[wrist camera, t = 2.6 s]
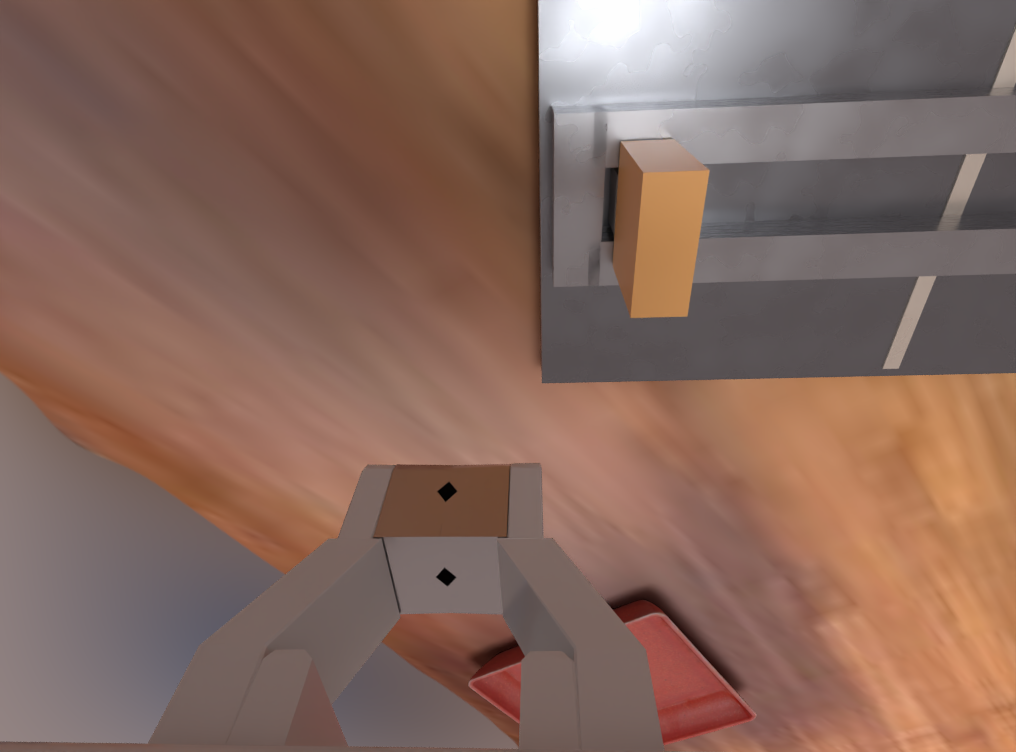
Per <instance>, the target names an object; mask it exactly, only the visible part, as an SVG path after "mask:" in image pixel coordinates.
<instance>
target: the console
mask: <svg viewBox="0 0 1016 752" xmlns="http://www.w3.org/2000/svg"><path fill="white" fill-rule="evenodd" d="M537 22H538V117H539V212H540V307H541V371H542V383H576V382H622V381H668V380H714V379H760V378H806V377H851V376H897V375H943V374H989V373H1016V0H537ZM663 139H675V140H676V141H677V142H678V143H679V144H680V145H681V146H683V147H684V148H685V149H686V150H687V151H688V152H689V153H691V154H692V155H693V156H694V157H695V158H696V159H697V160H699V161H700V162H701V163H702V164H703V165H704V166H705V167H706V168H708V169H709V170H710V171H709V178H708V184H707V191H706V197H705V204H704V210H703V217H702V224H701V230H700V237H699V243H698V250H697V256H696V263H695V270H694V276H693V283H692V289H691V296H690V302H689V309H688V316H687V317H650V318H630V315H629V312H628V309H627V306H626V304H625V301H624V298H623V295H622V292H621V289H620V286H619V283H618V280H617V278H616V275H615V272H614V269H613V266H612V265H613V250H614V234H613V232H612V229H611V227H610V224H609V221H608V216H609V199H610V182H611V168H616V167H619V158H620V143H621V141H638V140H663Z"/></svg>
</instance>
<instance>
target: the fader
mask: <svg viewBox="0 0 1016 752" xmlns="http://www.w3.org/2000/svg"><path fill="white" fill-rule="evenodd" d="M709 171H710V170H709V169H708V168H706V167H705V166H704V165H703V164H702V163H701V162H700V161H699V160H697V159H696V158H695V157H694V156H693V155H692V154H691V153H689V152H688V151H687V150H686V149H685V148H684V147H683V146H681V145H680V144H679V143H678V142H677V141H676V140H675V139H663V140H638V141H621V143H620V158H619V167H616V168H611V182H610V199H609V216H608V221H609V224H610V227H611V229H612V232H613V234H614V250H613V265H612V266H613V269H614V272H615V275H616V278H617V280H618V283H619V286H620V289H621V292H622V295H623V298H624V301H625V304H626V306H627V309H628V312H629V315H630V318H650V317H687V316H688V309H689V302H690V296H691V289H692V283H693V276H694V270H695V263H696V256H697V250H698V243H699V237H700V230H701V224H702V217H703V210H704V204H705V197H706V191H707V184H708V178H709Z"/></svg>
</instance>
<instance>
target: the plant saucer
mask: <svg viewBox="0 0 1016 752" xmlns="http://www.w3.org/2000/svg"><path fill="white" fill-rule="evenodd" d="M613 611H614V612H615V613H616V614H617V616H618V617H619V618H620V619H621V620H622V622H623V623H624V624H625V625H626V626H627V628H628V629H629V630H630V631H631V632H632V634H633V635H634V636H635V637H636V638H637V640H638V641H639V642H640V643H641V644H642V646H643V647H644V648H645V649H646V653H647V658H648V663H649V669H650V674H651V680H652V685H653V691H654V696H655V701H656V707H657V712H658V718H659V723H660V729H661V734H662V739H663V745H666V744H670V743H674V742H677V741H682V740H685V739H688V738H692V737H696V736H699V735H703V734H707V733H710V732H715V731H717V730H721V729H725V728H729V727H732V726H735V725H739V724H743V723H746V722H750V721H752V720H754V719H755V718H756V713H755V712H754V711H753V710H752V708H751V707H750V706H749V705H748V704H747V703H746V702H745V701H744V700H743V698H742V697H741V696H740V695H739V694H738V693H737V692H736V691H735V690H734V689H733V687H732V686H731V685H730V684H729V683H728V682H727V681H726V680H725V679H724V678H723V677H722V675H721V674H720V673H719V672H718V671H717V670H716V669H715V668H714V667H713V666H712V665H711V663H710V662H709V661H708V660H707V659H706V658H705V657H704V656H703V655H702V654H701V652H700V651H699V650H698V649H697V648H696V647H695V646H694V645H693V644H692V642H691V641H690V640H689V639H688V638H687V637H686V636H685V635H684V634H683V633H682V632H681V630H680V629H679V628H678V627H677V626H676V625H675V624H674V623H673V622H672V621H671V620H670V618H669V617H668V616H667V615H666V614H665V613H664V612H663V611H662V610H661V609H660V608H659V607H657V606H656V605H654V604H653V603H651V602H649V601H646V600H638V601H635V602H632V603H630V604H627V605H624V606H622V607H619V608H617V609H614V610H613ZM524 657H525V655H524V654H523V652H522V650H521V648H520V646H517V647H514V648H512V649H509V650H506V651H504V652H501V653H499V654H498V655H496V656H495V657H494V658H492V659H491V660H490V661H489V662H487V663H486V664H485V665H484V666H483V667H482V668H481V669H479V670H478V671H477V672H476V674H475V675H474V676H473V677H472V678H471V679H470V681H469V684H468V686H469V687H470V688H471V689H473V690H474V691H475V692H477V693H478V694H479V695H481V696H482V697H483V698H485V699H486V700H487V701H489V702H490V703H492V704H493V705H494V706H496V707H497V708H499V709H500V710H501V711H503V712H504V713H505V714H507V715H508V716H510V717H511V718H512V719H514V720H515V721H516V722H517V723H519V724H520V696H521V660H522V659H523V658H524Z"/></svg>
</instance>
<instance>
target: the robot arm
mask: <svg viewBox="0 0 1016 752" xmlns="http://www.w3.org/2000/svg"><path fill="white" fill-rule="evenodd" d="M424 613H473V614H503V618H504V620H505V621H506V623H507V625H508V627H509V628H510V630H511V632H512V634H513V636H514V637H515V639H516V641H517V643H518V645H519V646H520V648H521V650H522V652H523V654H524V655H525V657H524V658H523V659H522V660H521V696H520V732H519V749H481V748H478V749H477V748H418V747H414V748H413V747H411V748H410V747H348V745H347V742H346V740H345V737H344V735H343V732H342V730H341V727H340V725H339V723H338V720H337V718H336V715H335V713H334V710H333V708H332V704H333V702H334V701H335V700H336V699H337V697H338V696H339V695H340V694H341V692H342V691H343V690H344V689H345V687H346V686H347V685H348V683H349V682H350V681H351V680H352V678H353V677H354V676H355V675H356V673H357V672H358V671H359V669H360V668H361V667H362V666H363V664H364V663H365V662H366V661H367V659H368V658H369V657H370V655H371V654H372V653H373V652H374V650H375V649H376V648H377V646H378V645H379V644H380V643H381V641H382V640H383V639H384V638H385V636H386V635H387V634H388V633H389V631H390V630H391V629H392V627H393V626H394V625H395V624H396V622H397V621H398V620H399V619H400V614H424ZM0 752H678V751H665V750H664V745H663V739H662V734H661V729H660V723H659V718H658V712H657V707H656V701H655V696H654V691H653V685H652V680H651V674H650V669H649V663H648V658H647V653H646V649H645V648H644V647H643V646H642V644H641V643H640V642H639V641H638V640H637V638H636V637H635V636H634V635H633V634H632V632H631V631H630V630H629V629H628V628H627V626H626V625H625V624H624V623H623V622H622V620H621V619H620V618H619V617H618V616H617V614H616V613H615V612H614V611H613V610H612V609H611V607H610V606H609V605H608V604H607V603H606V601H605V600H604V599H603V598H602V597H601V595H600V594H599V593H598V592H597V591H596V589H595V588H594V587H593V586H592V585H591V583H590V582H589V581H588V580H587V579H586V577H585V576H584V575H583V574H582V573H581V571H580V570H579V569H578V568H577V567H576V565H575V564H574V563H573V562H572V561H571V559H570V558H569V557H568V556H567V555H566V554H565V552H564V551H563V550H562V549H561V548H560V546H559V545H558V544H557V543H556V542H555V540H554V539H553V538H543V504H542V469H541V465H540V463H517V464H488V465H400V464H397V465H367V466H366V467H365V468H364V469H363V471H362V473H361V475H360V478H359V481H358V484H357V486H356V489H355V492H354V495H353V497H352V500H351V503H350V506H349V508H348V511H347V514H346V516H345V519H344V522H343V525H342V527H341V530H340V533H339V536H338V538H337V539H328V540H326V541H325V542H324V543H323V544H322V545H320V546H319V547H318V548H317V549H316V550H314V551H313V552H312V553H311V554H310V555H308V556H307V557H306V558H305V559H303V560H302V561H301V562H300V563H299V564H297V565H296V566H295V567H294V568H293V569H291V570H290V571H289V572H288V573H287V574H285V575H284V576H283V577H282V578H281V579H279V580H278V581H277V582H276V583H275V584H273V585H272V586H271V587H270V588H268V589H267V590H266V591H265V592H264V593H262V594H261V595H260V596H259V597H257V598H256V599H255V600H254V601H253V602H251V603H250V604H249V605H248V606H247V607H245V608H244V609H243V610H242V611H241V612H239V613H238V614H237V615H236V616H235V617H233V618H232V619H231V620H230V621H228V622H227V623H226V624H225V625H224V626H222V627H221V628H220V629H219V630H218V631H216V632H215V633H214V634H213V635H212V636H210V637H209V638H208V639H207V640H206V641H204V642H203V643H202V644H201V645H199V647H198V649H197V651H196V653H195V655H194V656H193V658H192V661H191V662H190V664H189V666H188V668H187V670H186V672H185V674H184V676H183V677H182V679H181V681H180V683H179V685H178V687H177V689H176V691H175V693H174V695H173V697H172V698H171V700H170V702H169V704H168V706H167V708H166V710H165V712H164V714H163V716H162V718H161V719H160V721H159V723H158V725H157V727H156V729H155V731H154V733H153V735H152V737H151V739H150V740H149V742H148V744H137V743H135V744H134V743H68V742H0Z"/></svg>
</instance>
